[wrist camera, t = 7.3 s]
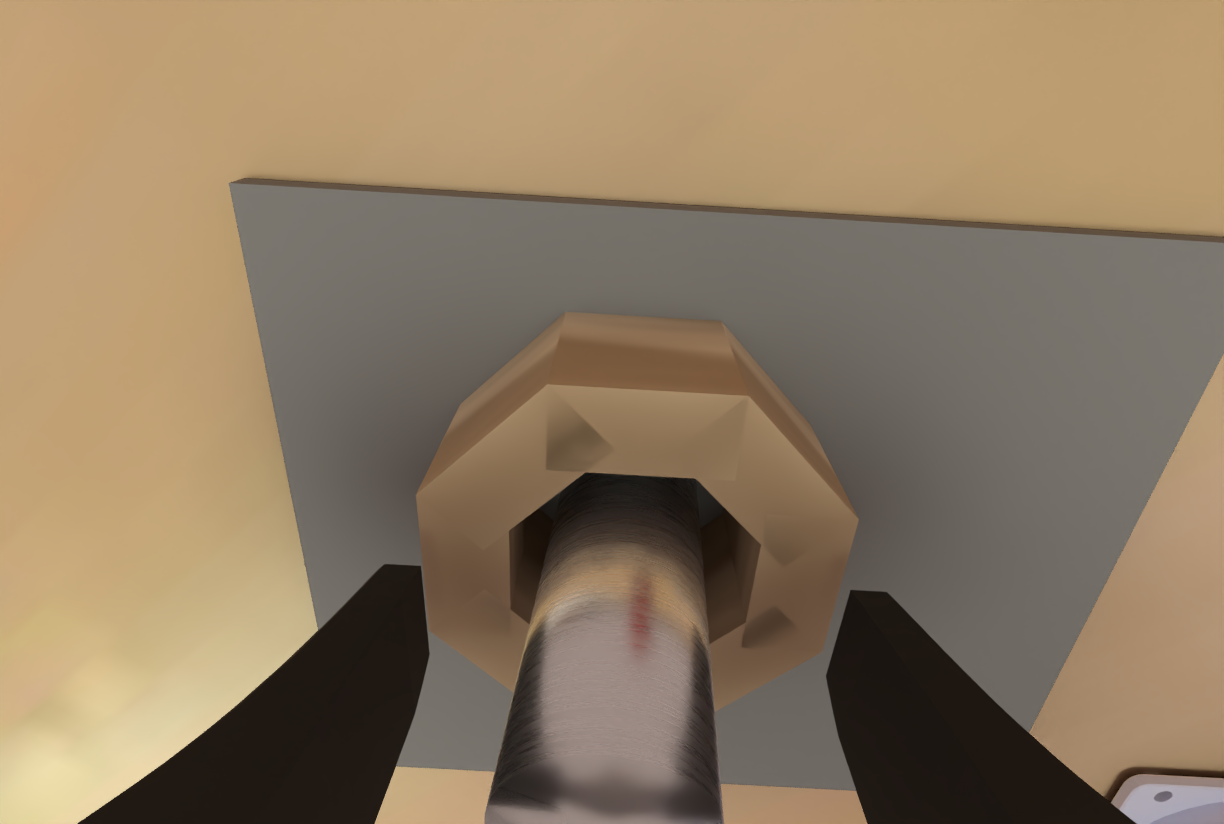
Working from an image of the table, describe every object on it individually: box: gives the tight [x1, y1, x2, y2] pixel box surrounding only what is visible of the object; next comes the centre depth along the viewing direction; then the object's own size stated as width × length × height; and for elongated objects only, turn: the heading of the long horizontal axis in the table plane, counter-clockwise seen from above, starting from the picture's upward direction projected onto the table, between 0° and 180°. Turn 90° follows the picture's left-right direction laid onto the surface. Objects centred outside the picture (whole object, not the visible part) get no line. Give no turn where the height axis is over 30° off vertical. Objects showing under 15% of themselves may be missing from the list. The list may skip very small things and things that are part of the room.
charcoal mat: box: [229, 178, 1224, 791], centre depth 17 cm, size 20×17×1 cm
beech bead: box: [416, 312, 859, 712], centre depth 14 cm, size 8×8×4 cm
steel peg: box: [485, 472, 724, 824], centre depth 12 cm, size 3×3×8 cm
